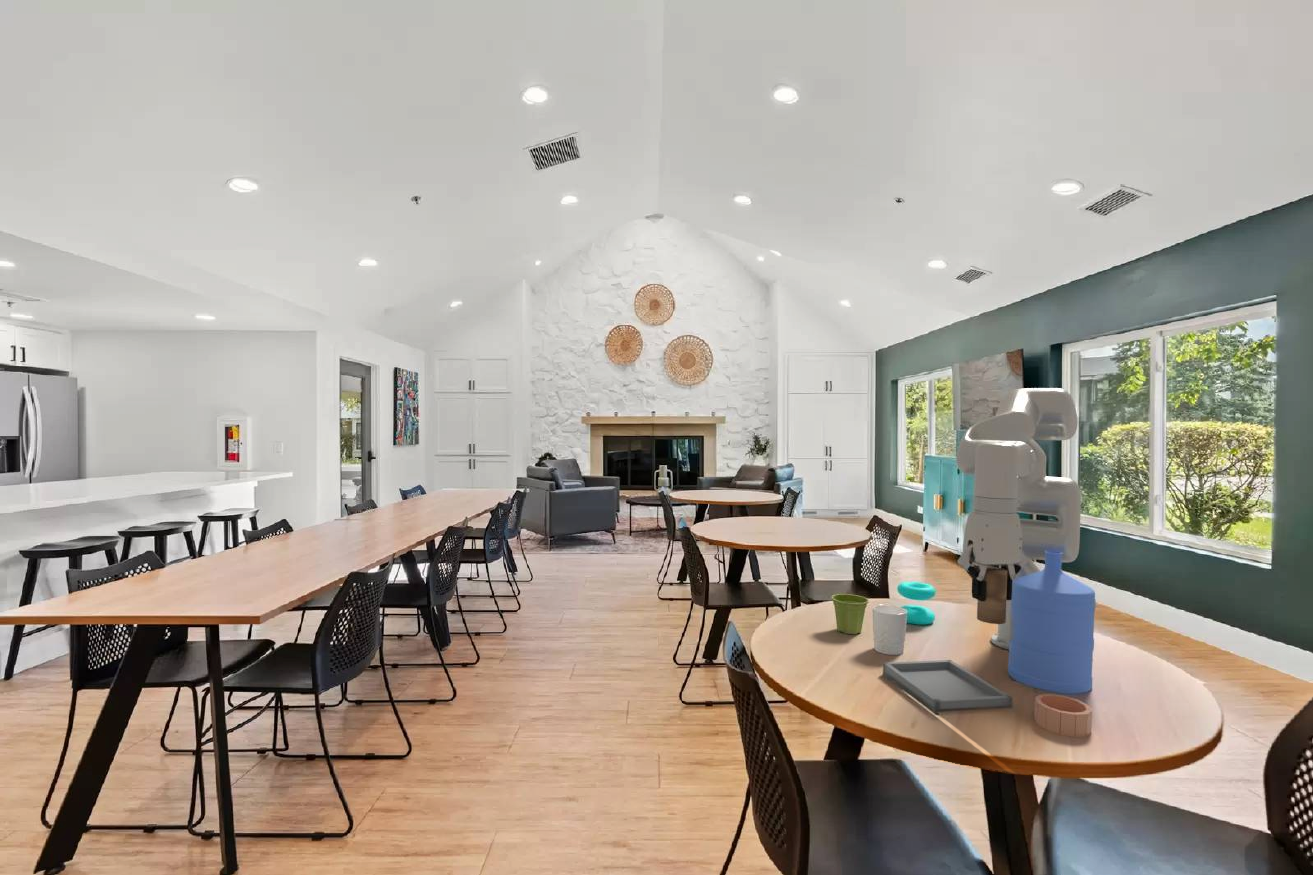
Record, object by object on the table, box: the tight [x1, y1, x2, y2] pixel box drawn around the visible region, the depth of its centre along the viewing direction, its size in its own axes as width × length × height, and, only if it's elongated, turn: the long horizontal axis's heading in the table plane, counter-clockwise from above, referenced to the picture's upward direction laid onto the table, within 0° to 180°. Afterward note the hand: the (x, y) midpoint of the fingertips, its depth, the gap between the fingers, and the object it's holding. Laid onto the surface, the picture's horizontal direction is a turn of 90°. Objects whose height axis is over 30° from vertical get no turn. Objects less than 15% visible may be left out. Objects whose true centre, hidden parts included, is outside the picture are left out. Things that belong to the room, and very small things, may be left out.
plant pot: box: [830, 593, 870, 635], centre depth 175 cm, size 9×9×9 cm
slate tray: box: [882, 659, 1013, 715], centre depth 137 cm, size 16×20×2 cm
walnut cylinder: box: [976, 565, 1007, 625], centre depth 130 cm, size 5×5×10 cm
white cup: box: [872, 604, 908, 656], centre depth 161 cm, size 8×8×10 cm
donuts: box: [896, 581, 937, 626], centre depth 186 cm, size 10×10×10 cm
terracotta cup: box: [1033, 693, 1093, 738], centre depth 121 cm, size 9×9×4 cm
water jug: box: [1007, 551, 1097, 695], centre depth 143 cm, size 16×16×28 cm
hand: (991, 598), depth 130 cm, fingers closed on walnut cylinder, 5 cm apart
